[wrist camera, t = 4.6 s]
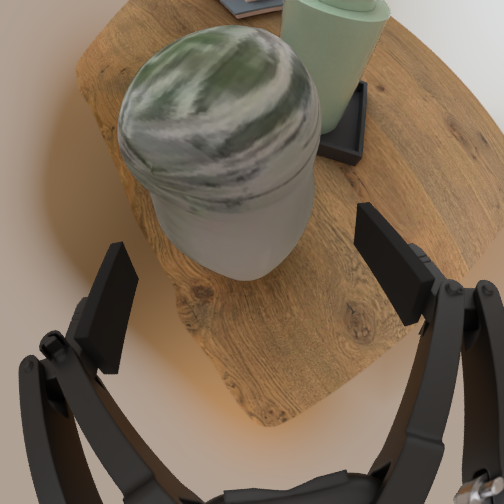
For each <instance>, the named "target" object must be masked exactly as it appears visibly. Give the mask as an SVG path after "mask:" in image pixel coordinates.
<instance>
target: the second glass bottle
mask: <svg viewBox="0 0 504 504" xmlns="http://www.w3.org/2000/svg"><path fill="white" fill-rule="evenodd" d="M390 14H391V12H390V8H389V6H388V4H387V3H386V2H385V1H384V0H283V7H282V16H281V26H280V35H279V38H280V39H282V40H283V41H284V42H285V43H287V44H288V45H289V46H290V47H291V48H292V49H293V50H294V51H295V52H296V53H297V55H298V56H299V58H300V60H301V61H302V63H303V64H304V66H305V67H306V69H307V71H308V72H309V74H310V76H311V78H312V80H313V82H314V84H315V86H316V90H317V93H318V97H319V101H320V106H321V116H322V121H321V135H322V134H326V133H329V132H331V131H332V130H334V129H335V128H336V127H337V126H338V124H339V123H340V121H341V119H342V117H343V115H344V113H345V111H346V108H347V106H348V104H349V102H350V100H351V98H352V96H353V94H354V92H355V90H356V88H357V86H358V84H359V81H360V79H361V77H362V75H363V73H364V71H365V69H366V67H367V65H368V63H369V60H370V58H371V56H372V54H373V52H374V50H375V48H376V45H377V43H378V41H379V39H380V37H381V35H382V32H383V30H384V28H385V26H386V24H387V22H388V19H389V17H390Z"/></svg>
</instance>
